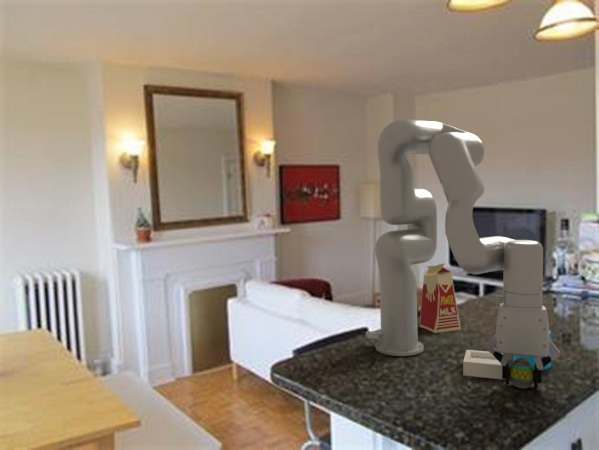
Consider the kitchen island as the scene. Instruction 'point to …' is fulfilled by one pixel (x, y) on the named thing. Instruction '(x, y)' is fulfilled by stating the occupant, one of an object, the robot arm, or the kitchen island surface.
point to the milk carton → (439, 301)
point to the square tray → (481, 365)
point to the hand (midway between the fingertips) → (521, 383)
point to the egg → (521, 373)
